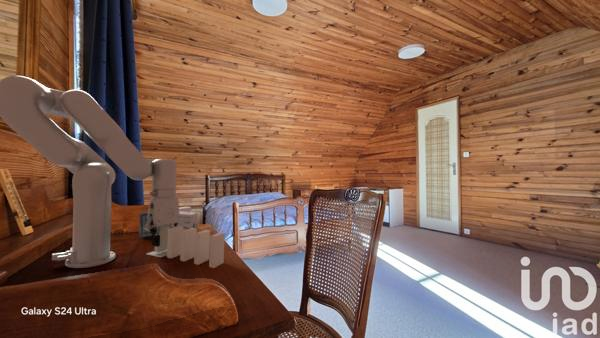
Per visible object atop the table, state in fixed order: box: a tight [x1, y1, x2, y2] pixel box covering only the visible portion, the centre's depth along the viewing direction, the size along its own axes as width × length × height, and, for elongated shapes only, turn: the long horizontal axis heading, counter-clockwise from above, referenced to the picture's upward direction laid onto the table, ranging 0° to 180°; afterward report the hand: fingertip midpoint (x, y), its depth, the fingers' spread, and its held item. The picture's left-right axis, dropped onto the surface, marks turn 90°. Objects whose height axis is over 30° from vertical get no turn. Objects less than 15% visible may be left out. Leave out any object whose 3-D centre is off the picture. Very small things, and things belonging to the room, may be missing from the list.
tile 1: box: [208, 232, 226, 269], centre depth 84 cm, size 2×5×10 cm, turn 159°
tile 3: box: [179, 228, 196, 262], centre depth 89 cm, size 2×5×10 cm, turn 159°
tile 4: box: [166, 226, 183, 259], centre depth 91 cm, size 2×5×10 cm, turn 159°
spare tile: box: [154, 225, 171, 253], centre depth 93 cm, size 2×5×10 cm, turn 159°
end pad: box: [146, 250, 167, 259], centre depth 93 cm, size 7×7×1 cm
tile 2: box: [193, 229, 211, 265], centre depth 87 cm, size 2×5×10 cm, turn 159°
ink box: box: [176, 211, 199, 233], centre depth 108 cm, size 9×5×12 cm, turn 84°
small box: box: [138, 211, 152, 239], centre depth 114 cm, size 11×6×10 cm, turn 130°
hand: (162, 243), depth 93 cm, fingers closed on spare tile, 4 cm apart
